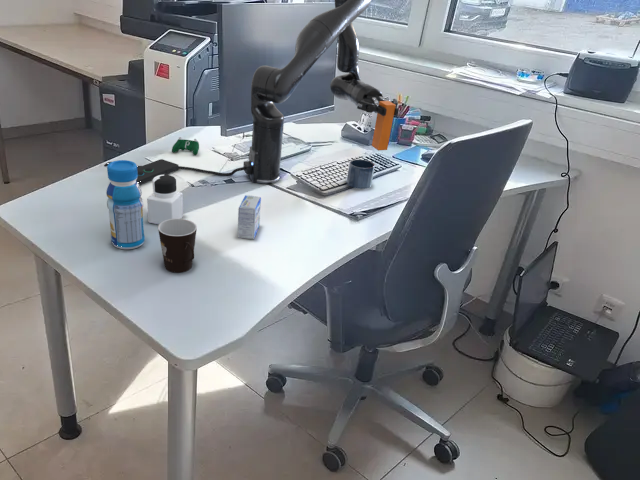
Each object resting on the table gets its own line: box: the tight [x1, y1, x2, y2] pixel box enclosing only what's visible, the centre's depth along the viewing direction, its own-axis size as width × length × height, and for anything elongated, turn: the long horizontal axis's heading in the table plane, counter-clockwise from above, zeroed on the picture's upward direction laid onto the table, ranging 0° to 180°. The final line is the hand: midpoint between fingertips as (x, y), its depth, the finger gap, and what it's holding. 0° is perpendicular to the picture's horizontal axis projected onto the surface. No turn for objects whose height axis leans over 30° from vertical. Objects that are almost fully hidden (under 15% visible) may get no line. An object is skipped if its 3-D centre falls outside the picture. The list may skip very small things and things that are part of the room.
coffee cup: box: [346, 159, 376, 190], centre depth 173 cm, size 8×8×7 cm
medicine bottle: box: [146, 174, 184, 225], centre depth 146 cm, size 7×7×12 cm
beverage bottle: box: [105, 159, 146, 250], centre depth 132 cm, size 8×8×20 cm
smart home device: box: [136, 158, 179, 186], centre depth 174 cm, size 8×2×20 cm
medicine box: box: [237, 195, 262, 240], centre depth 142 cm, size 8×4×9 cm, turn 168°
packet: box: [371, 100, 396, 151], centre depth 173 cm, size 3×5×14 cm
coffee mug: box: [157, 218, 198, 274], centre depth 125 cm, size 12×9×10 cm
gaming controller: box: [171, 136, 200, 156], centre depth 193 cm, size 9×4×6 cm
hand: (390, 112), depth 168 cm, fingers closed on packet, 3 cm apart
